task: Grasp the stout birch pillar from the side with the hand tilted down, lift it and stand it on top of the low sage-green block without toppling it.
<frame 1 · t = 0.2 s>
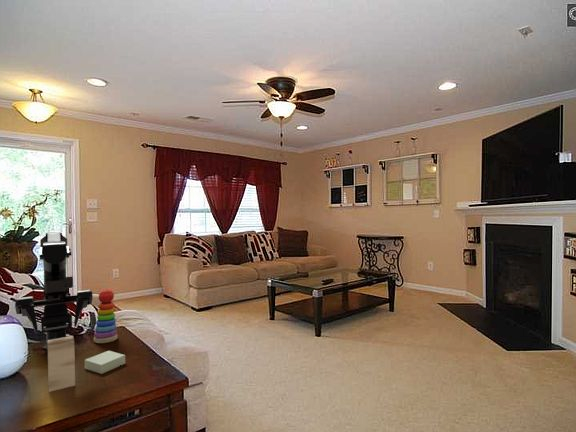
hand: (56, 329, 101), 14 cm above the table, tool tilted 35°, fingers open, 9 cm apart
stacking toy: (105, 340, 132), on the table
birch pillar: (61, 384, 98), on the table
sage block: (105, 367, 110), on the table
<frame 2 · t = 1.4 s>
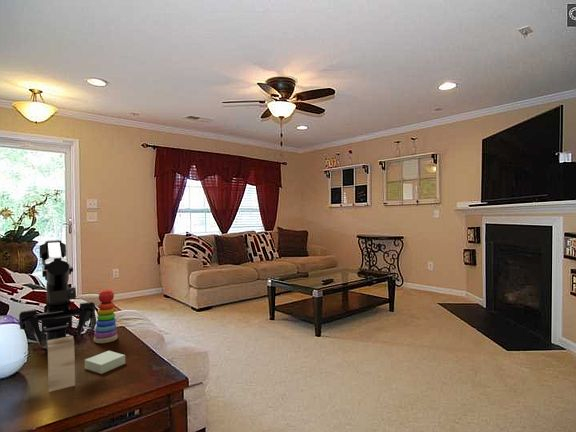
hand: (60, 340, 101), 11 cm above the table, tool tilted 45°, fingers open, 9 cm apart
nothing on the table moved.
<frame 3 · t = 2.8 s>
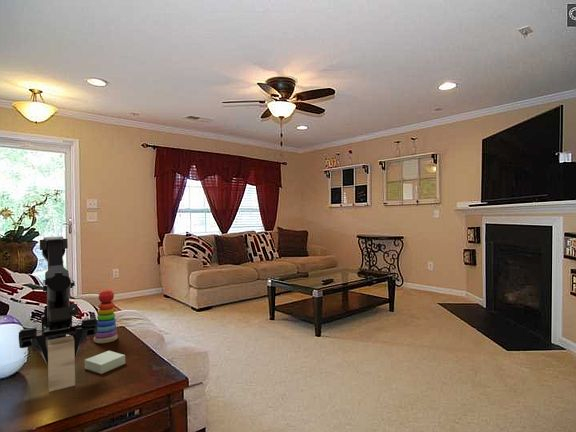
hand: (61, 360, 97), 7 cm above the table, tool tilted 45°, fingers closed on birch pillar, 6 cm apart
birch pillar: (61, 384, 98), on the table, touching gripper
everything else where it was.
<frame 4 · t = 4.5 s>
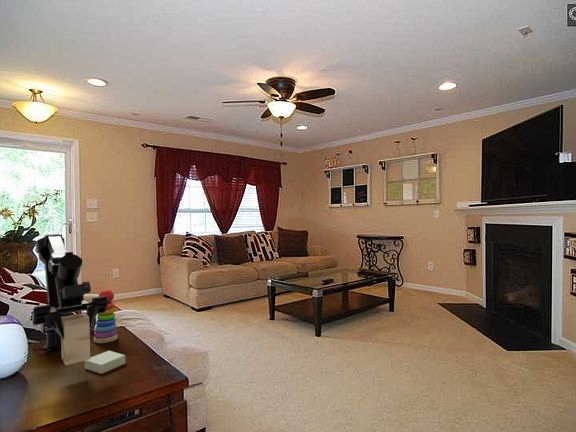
hand: (76, 335, 100), 13 cm above the table, tool tilted 45°, fingers closed on birch pillar, 6 cm apart
birch pillar: (75, 358, 101), point 6 cm above the table, touching gripper
everything else where it was.
when the fingers open (10 cm above the table, at t = 6.3 s): birch pillar stays where it is, point 3 cm above the table.
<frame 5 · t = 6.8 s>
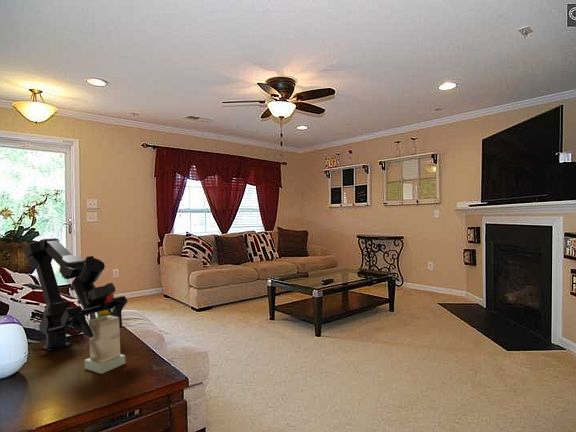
hand: (107, 332, 109), 11 cm above the table, tool tilted 45°, fingers open, 9 cm apart
birch pillar: (105, 357, 110), point 3 cm above the table
everything else where it was.
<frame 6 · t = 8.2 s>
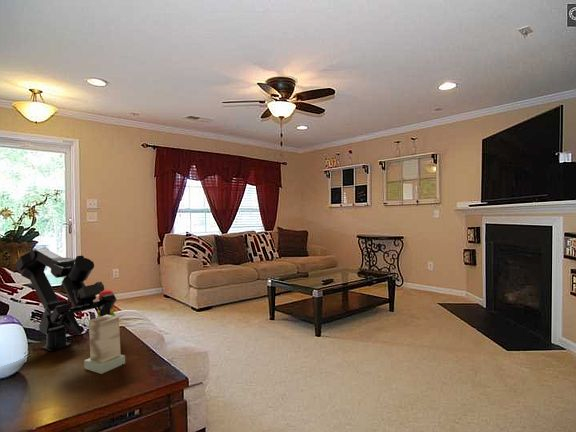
hand: (95, 329, 112), 10 cm above the table, tool tilted 45°, fingers open, 9 cm apart
nothing on the table moved.
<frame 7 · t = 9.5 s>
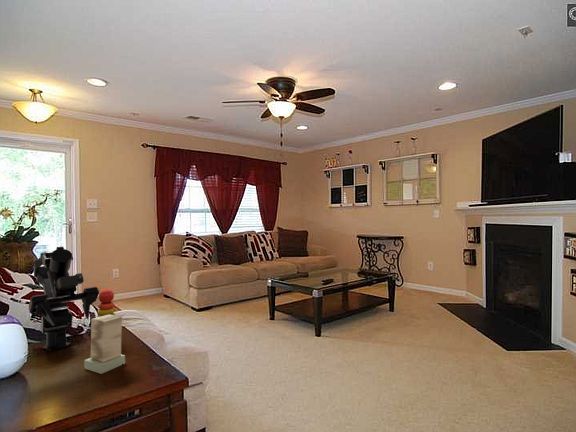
hand: (71, 321, 110), 14 cm above the table, tool tilted 45°, fingers open, 9 cm apart
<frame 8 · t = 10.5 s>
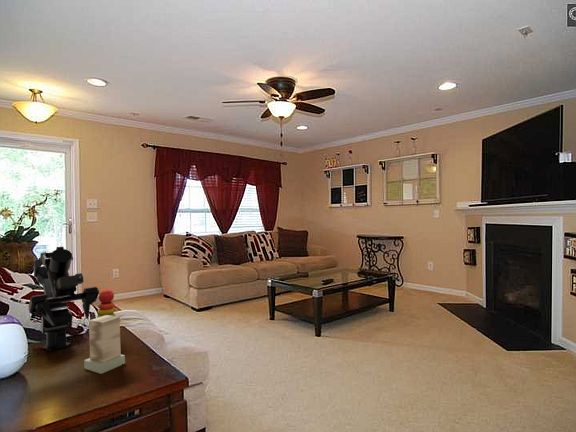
hand: (71, 321, 110), 14 cm above the table, tool tilted 45°, fingers open, 9 cm apart
birch pillar: (105, 357, 110), point 3 cm above the table, touching sage block
sage block: (105, 367, 110), on the table, touching birch pillar
everything else where it was.
at the end: birch pillar 0.2 cm off-centre on the sage block, point 3.1 cm above the sage block's base; birch pillar tilted 1°; the gripper is holding nothing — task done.
